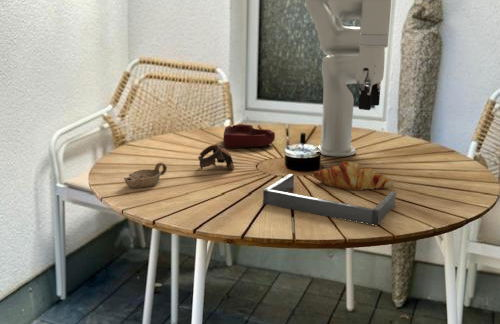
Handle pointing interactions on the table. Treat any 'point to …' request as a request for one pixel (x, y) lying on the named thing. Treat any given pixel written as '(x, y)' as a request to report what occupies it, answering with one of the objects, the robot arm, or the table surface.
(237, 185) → the table surface
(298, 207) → the bent metal bracket
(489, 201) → the table surface
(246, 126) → the ashtray
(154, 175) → the oil lamp
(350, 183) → the croissant
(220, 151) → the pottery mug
